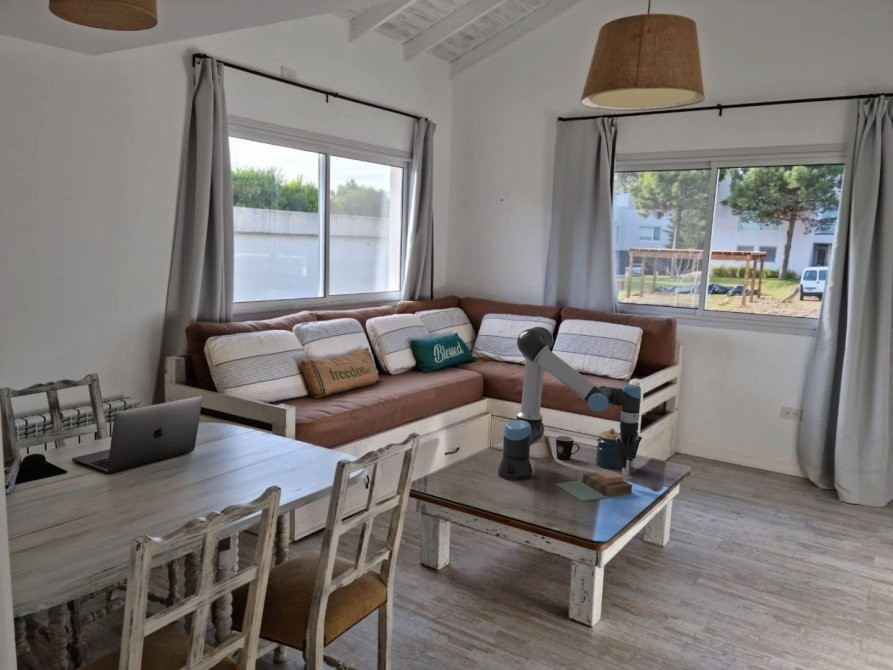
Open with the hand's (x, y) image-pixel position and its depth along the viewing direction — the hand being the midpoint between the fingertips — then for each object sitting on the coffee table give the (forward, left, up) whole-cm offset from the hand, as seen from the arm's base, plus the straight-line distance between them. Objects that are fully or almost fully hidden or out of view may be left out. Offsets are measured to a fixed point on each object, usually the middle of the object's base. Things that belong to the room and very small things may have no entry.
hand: (625, 474), depth 295 cm
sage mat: (0, -22, -5) cm, 23 cm away
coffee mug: (-39, -5, -5) cm, 40 cm away
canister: (-26, +11, -5) cm, 29 cm away
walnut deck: (0, -9, -5) cm, 11 cm away
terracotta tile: (0, -8, -1) cm, 8 cm away
